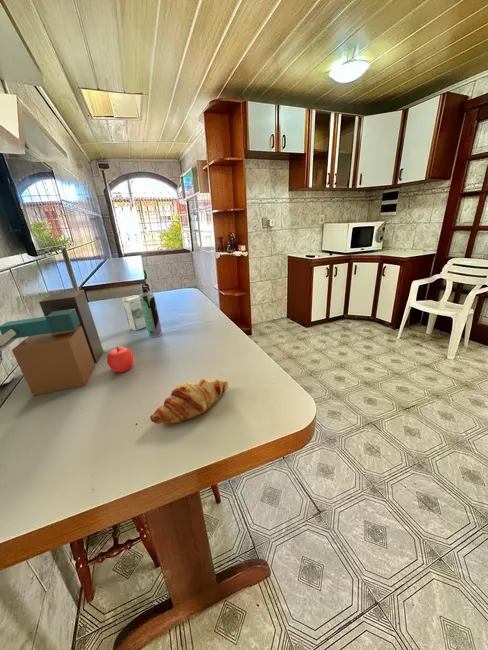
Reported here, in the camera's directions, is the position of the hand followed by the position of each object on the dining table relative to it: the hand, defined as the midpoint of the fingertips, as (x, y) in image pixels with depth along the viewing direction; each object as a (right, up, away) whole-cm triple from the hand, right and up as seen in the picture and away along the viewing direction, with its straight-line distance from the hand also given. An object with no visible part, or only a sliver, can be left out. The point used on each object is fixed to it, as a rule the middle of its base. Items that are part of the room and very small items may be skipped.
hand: (19, 327), depth 75 cm
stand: (+6, -12, +21) cm, 25 cm away
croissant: (+51, -20, -9) cm, 56 cm away
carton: (+8, -17, +9) cm, 20 cm away
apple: (+24, -14, +12) cm, 30 cm away
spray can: (+26, -4, +37) cm, 45 cm away
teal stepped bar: (+5, -1, +2) cm, 6 cm away
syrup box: (+16, -1, +46) cm, 48 cm away
